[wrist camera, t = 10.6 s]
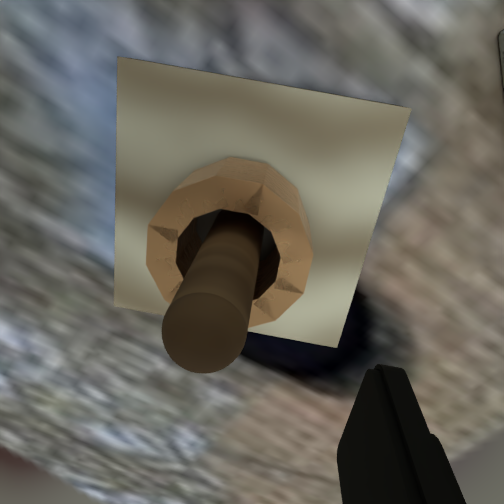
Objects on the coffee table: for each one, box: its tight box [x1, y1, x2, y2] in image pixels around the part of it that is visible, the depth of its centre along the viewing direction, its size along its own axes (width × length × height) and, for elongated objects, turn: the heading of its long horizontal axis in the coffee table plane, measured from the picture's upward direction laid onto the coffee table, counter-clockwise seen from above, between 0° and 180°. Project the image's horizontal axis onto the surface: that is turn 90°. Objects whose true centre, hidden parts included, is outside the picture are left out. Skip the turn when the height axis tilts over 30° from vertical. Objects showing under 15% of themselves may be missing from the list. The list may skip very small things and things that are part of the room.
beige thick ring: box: [146, 157, 313, 328], centre depth 18 cm, size 7×7×4 cm
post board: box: [114, 56, 411, 373], centre depth 17 cm, size 14×14×13 cm
